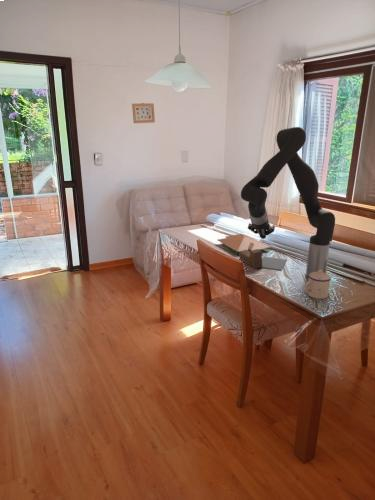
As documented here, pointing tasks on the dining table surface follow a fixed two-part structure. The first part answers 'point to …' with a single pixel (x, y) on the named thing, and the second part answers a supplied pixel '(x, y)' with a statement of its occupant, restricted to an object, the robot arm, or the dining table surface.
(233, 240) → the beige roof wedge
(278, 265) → the mat
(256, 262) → the wooden block
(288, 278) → the dining table surface
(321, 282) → the teacup with lid
